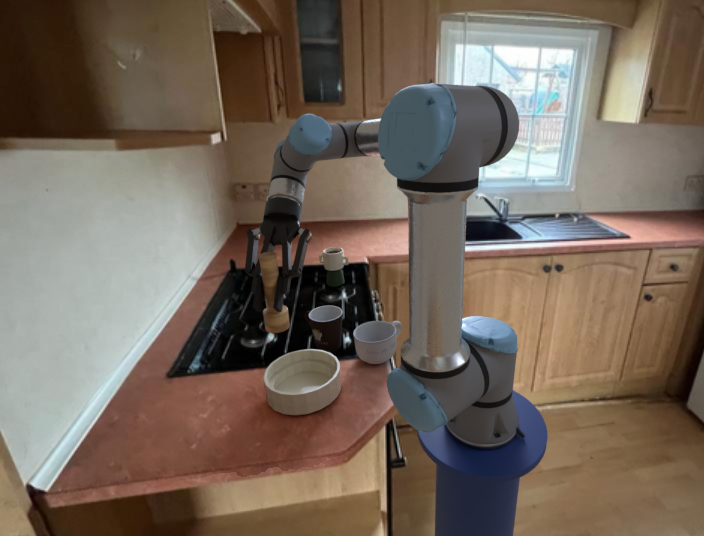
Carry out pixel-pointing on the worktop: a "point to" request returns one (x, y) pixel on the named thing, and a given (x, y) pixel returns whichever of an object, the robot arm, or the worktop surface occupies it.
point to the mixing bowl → (302, 381)
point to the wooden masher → (272, 294)
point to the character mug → (334, 265)
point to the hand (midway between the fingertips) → (267, 309)
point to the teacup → (376, 341)
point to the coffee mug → (326, 327)
